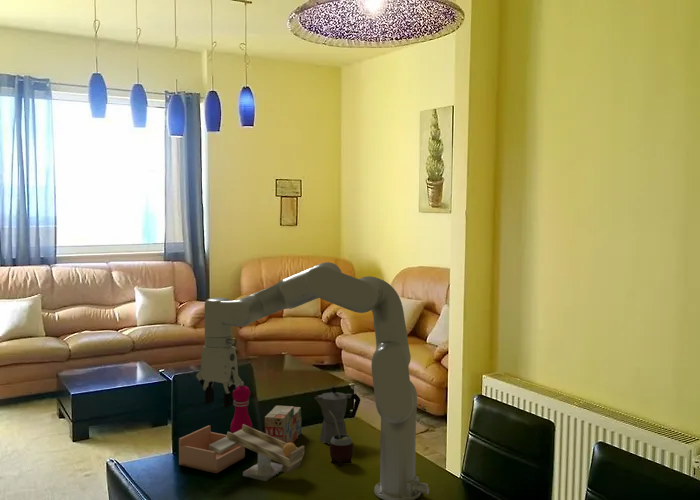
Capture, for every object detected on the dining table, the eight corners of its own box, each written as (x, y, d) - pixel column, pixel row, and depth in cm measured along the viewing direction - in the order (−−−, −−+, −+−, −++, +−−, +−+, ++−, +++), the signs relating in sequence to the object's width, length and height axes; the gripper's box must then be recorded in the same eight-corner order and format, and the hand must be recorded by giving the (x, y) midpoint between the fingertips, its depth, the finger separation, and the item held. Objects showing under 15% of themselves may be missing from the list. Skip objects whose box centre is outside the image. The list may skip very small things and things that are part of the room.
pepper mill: (226, 441, 221) (225, 382, 219) (239, 435, 227) (239, 377, 226) (243, 445, 217) (243, 385, 216) (256, 438, 224) (256, 380, 223)
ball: (296, 457, 192) (300, 444, 192) (289, 461, 189) (293, 449, 188) (285, 450, 194) (289, 438, 193) (278, 454, 190) (282, 442, 190)
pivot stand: (285, 469, 198) (285, 447, 198) (266, 481, 189) (266, 458, 189) (262, 464, 202) (262, 443, 201) (243, 475, 193) (242, 453, 192)
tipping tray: (301, 464, 194) (305, 445, 193) (271, 485, 180) (275, 464, 179) (241, 437, 204) (244, 419, 203) (207, 454, 189) (210, 435, 188)
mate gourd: (351, 467, 199) (351, 418, 198) (325, 466, 200) (325, 417, 199) (353, 458, 207) (354, 410, 206) (328, 457, 207) (328, 410, 207)
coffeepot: (314, 445, 218) (314, 391, 217) (313, 435, 227) (313, 383, 226) (361, 444, 219) (361, 390, 218) (358, 434, 228) (359, 382, 227)
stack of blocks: (284, 432, 231) (284, 397, 230) (301, 433, 230) (301, 398, 229) (264, 454, 210) (264, 416, 209) (283, 456, 209) (283, 417, 208)
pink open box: (244, 457, 207) (244, 432, 207) (216, 473, 195) (216, 446, 194) (208, 449, 213) (208, 425, 213) (179, 464, 201) (178, 438, 200)
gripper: (251, 342, 188) (251, 405, 189) (202, 336, 196) (203, 397, 197) (235, 347, 181) (235, 412, 182) (185, 341, 189) (186, 404, 190)
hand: (218, 404), depth 190 cm, fingers open, 5 cm apart
